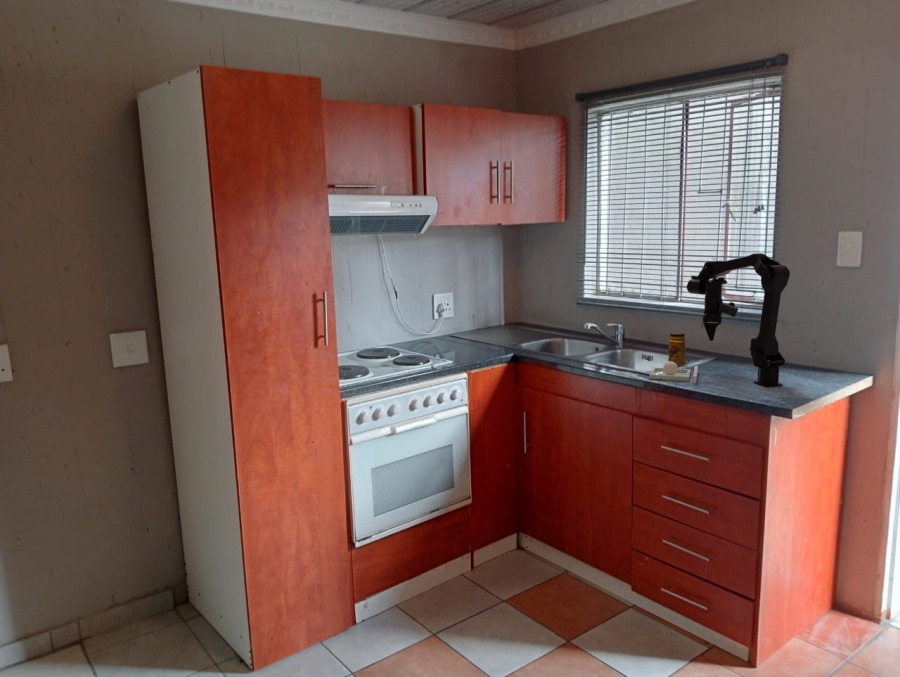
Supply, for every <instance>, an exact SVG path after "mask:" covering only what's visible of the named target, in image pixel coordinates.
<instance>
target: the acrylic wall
mask: <svg viewBox="0 0 900 677" xmlns="http://www.w3.org/2000/svg"><path fill="white" fill-rule="evenodd" d="M698 374H699V366H698V365H695V366H694V370H693V375H692V376H693V377H692V384H697V380H698Z"/></svg>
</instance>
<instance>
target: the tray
mask: <svg viewBox="0 0 900 677" xmlns="http://www.w3.org/2000/svg"><path fill="white" fill-rule="evenodd" d="M658 371H663V367H652V369H651V371H650V374H649V380H654V379H662V380H661V381H672V382H675V381H676V382H690V377H691V368H678V371H677V373H676V374H674V375H667V374H665V373H664V371H663V374H661V375H656V374H654V373H655V372H658Z"/></svg>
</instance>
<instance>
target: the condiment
mask: <svg viewBox="0 0 900 677" xmlns="http://www.w3.org/2000/svg"><path fill="white" fill-rule="evenodd" d="M669 335H670V336H669V337H670V338H669V341H668V359H667V360H668V361H667V362H669V361H671V362H674V363H676V365H677V366H686V367H687V365H688V363H689V361H688V360H686V343H687V342H686V340H685V339H686V337H685V335H686V334H685V333H684V332H679V331H678V332H676V331H674V332H671V333H670V334H669Z"/></svg>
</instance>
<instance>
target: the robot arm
mask: <svg viewBox="0 0 900 677" xmlns="http://www.w3.org/2000/svg"><path fill="white" fill-rule="evenodd" d="M750 267H753V269H754V272H755V273H756V274H757V275H758V276H759V277H760V285H761V287H762V290H763V291H764V293H763V301H762V306H761V307H762V309H761V314H760V321H759V330H758V334H757V336H756V337H753V338H750V347H749V349H748V350H749V351H750V357H751V358H752V363H753V365H754V367H756V368H758V369H757V380H753V383H754V384H756V385H760V386H762V387H777V386H778V387H779V386H783V383H781V382H779V379H780V378H779V377H780V367H784V366H785V364H786V359H785V358H784V357H783V355H782V354H781V352H780V351H779V341H778V339H777V337H776V331H777V325H778V317H779V309H780V304H781V295H782V292H783V291H784V289H786V286H787V285H788V283H789V279H790V274H791V272H790V269H789V268H788V267H787V266H786V265H784V264H781V263H780V262H778V261H776V260H775V259H773V258H770V257H769V256H768V255H767V254H765V253H763V252H757V253H751V254H749V255H745V256H741V257H736V258H731V259H727V260H709V261H705V262H704V265H703V267H702V268H701V270H700V272H699V274H698V275H697V274H696V275H691V276H690V279H689V280H688V282H687V284H686V290H687V292H688V293H689V294H692V295H693V294H695V295H700V296H701V295H702V296H703V295H704V310H703V314H702V324H703V326H704V329H705V331H706V334H707V337H708V340H709V341H710V342H712V341H714V339H715V334H716V330H717V327H718V326H720V325H721V324H722V321H723V320H722V319H723V316H722V314H726V315H728V316H730V317H733V318H735V317H736V316H737V314H738V312H739V307H737V306H736V305H735V304H736V303H735V302H732V301H730V302H729V303H726V302H724V300H723V285H726V284H728V281H727V279H725V278H724V276H726V275H728V274H730V273H731V272H733V271H736V270H741V269H747V268H750Z"/></svg>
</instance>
